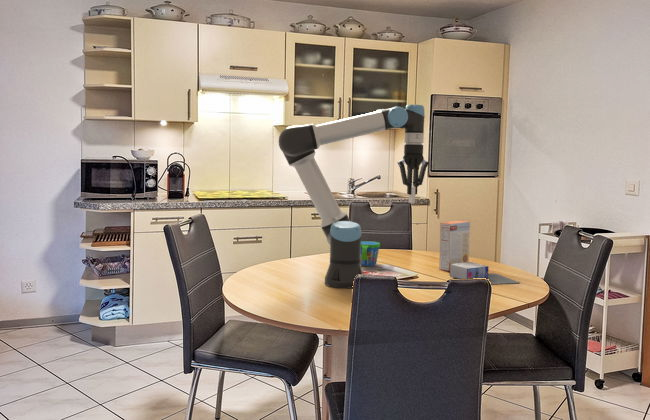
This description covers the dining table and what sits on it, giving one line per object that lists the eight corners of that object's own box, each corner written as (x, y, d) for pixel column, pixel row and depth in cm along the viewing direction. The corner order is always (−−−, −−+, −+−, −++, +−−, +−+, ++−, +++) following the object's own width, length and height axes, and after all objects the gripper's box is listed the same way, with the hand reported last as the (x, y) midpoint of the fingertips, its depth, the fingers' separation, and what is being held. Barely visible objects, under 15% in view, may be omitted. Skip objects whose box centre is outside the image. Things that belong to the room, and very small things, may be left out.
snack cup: (362, 261, 274) (363, 239, 273) (384, 263, 270) (385, 241, 269) (350, 267, 260) (351, 244, 259) (373, 269, 256) (373, 246, 255)
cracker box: (457, 266, 267) (459, 220, 265) (468, 268, 263) (471, 221, 261) (437, 269, 258) (439, 222, 256) (449, 271, 254) (451, 223, 252)
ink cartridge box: (467, 282, 234) (492, 278, 242) (467, 268, 233) (493, 264, 241) (449, 277, 242) (474, 273, 250) (449, 263, 241) (474, 260, 249)
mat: (474, 285, 229) (474, 284, 229) (452, 275, 246) (452, 274, 246) (519, 283, 234) (520, 282, 234) (495, 273, 251) (495, 273, 251)
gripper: (402, 143, 232) (400, 203, 234) (432, 144, 235) (430, 203, 237) (395, 143, 239) (393, 201, 241) (425, 144, 242) (422, 201, 245)
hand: (411, 202), depth 239 cm, fingers closed
